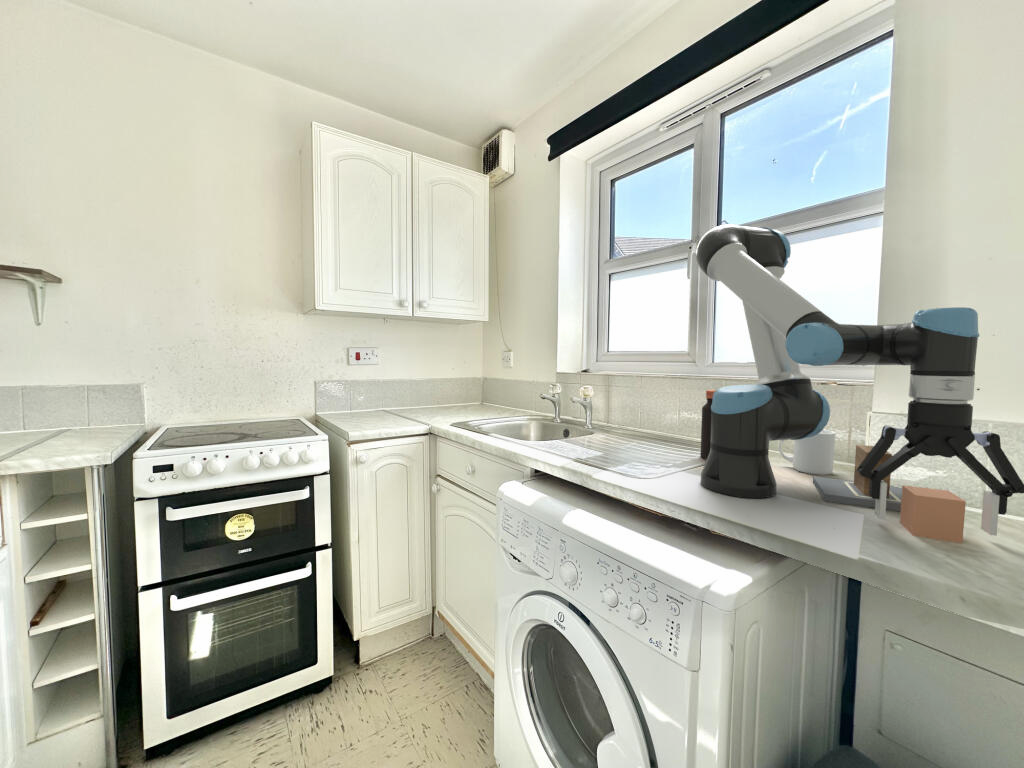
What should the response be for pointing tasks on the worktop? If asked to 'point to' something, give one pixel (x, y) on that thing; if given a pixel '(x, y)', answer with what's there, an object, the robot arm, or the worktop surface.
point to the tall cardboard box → (863, 482)
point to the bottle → (706, 425)
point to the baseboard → (853, 493)
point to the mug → (813, 453)
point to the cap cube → (932, 513)
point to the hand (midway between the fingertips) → (931, 524)
